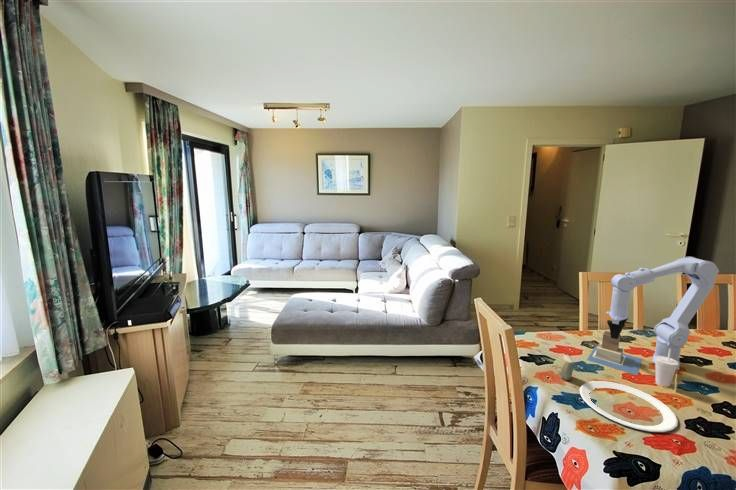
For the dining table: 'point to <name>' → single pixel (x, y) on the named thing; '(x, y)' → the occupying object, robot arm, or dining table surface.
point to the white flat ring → (668, 416)
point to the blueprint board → (626, 364)
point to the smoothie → (665, 369)
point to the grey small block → (565, 368)
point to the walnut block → (610, 342)
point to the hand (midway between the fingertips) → (615, 335)
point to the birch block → (609, 354)
